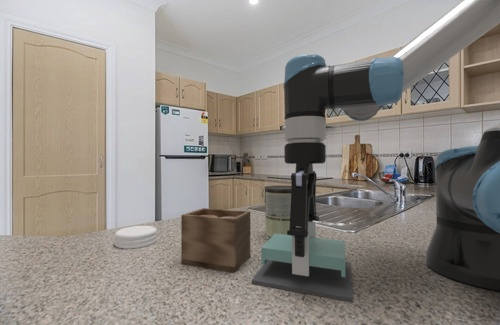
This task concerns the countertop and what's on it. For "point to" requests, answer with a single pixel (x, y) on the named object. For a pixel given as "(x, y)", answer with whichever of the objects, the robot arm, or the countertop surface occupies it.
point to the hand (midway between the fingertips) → (305, 262)
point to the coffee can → (277, 210)
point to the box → (215, 239)
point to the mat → (307, 280)
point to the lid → (320, 252)
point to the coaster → (135, 237)
